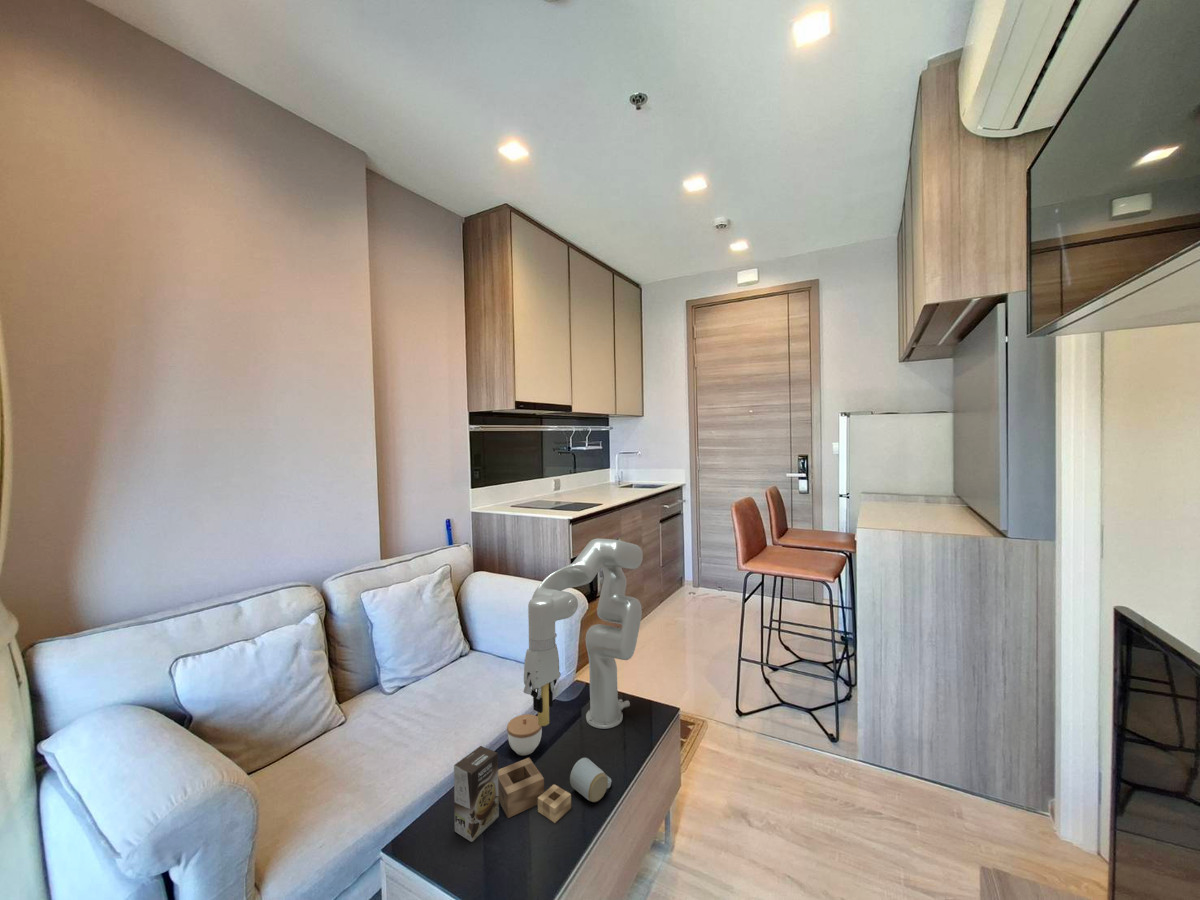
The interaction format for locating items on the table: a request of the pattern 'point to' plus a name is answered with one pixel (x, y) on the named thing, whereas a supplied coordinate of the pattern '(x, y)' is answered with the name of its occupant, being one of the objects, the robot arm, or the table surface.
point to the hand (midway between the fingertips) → (543, 707)
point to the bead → (519, 787)
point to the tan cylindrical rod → (544, 706)
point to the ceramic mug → (589, 780)
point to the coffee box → (476, 792)
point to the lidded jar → (524, 734)
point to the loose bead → (554, 803)
